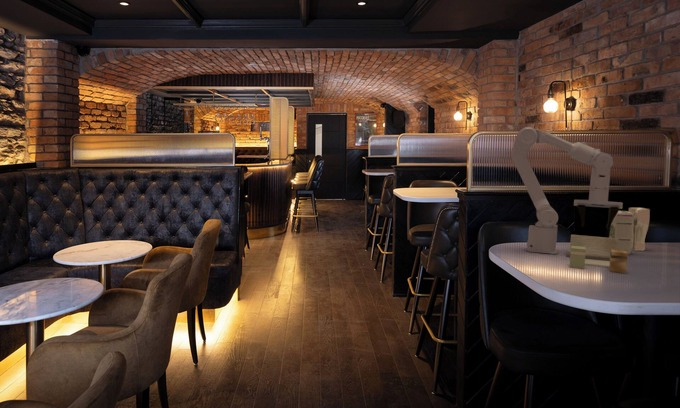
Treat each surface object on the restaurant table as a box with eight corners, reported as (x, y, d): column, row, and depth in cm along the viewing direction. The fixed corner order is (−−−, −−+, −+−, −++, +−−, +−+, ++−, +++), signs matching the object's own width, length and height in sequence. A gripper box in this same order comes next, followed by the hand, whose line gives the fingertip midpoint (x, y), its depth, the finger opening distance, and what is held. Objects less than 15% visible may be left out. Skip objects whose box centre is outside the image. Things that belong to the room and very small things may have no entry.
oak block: (610, 271, 150) (611, 251, 149) (609, 268, 153) (610, 249, 153) (625, 273, 148) (627, 253, 147) (624, 270, 152) (626, 250, 151)
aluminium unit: (566, 256, 169) (567, 236, 168) (566, 253, 173) (567, 233, 172) (620, 262, 162) (622, 240, 161) (619, 259, 167) (621, 238, 166)
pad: (576, 264, 158) (576, 262, 158) (576, 259, 165) (576, 258, 165) (612, 267, 154) (612, 266, 154) (610, 263, 161) (610, 261, 161)
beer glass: (634, 246, 188) (638, 207, 186) (651, 250, 181) (655, 209, 179) (619, 247, 186) (623, 207, 184) (636, 251, 179) (640, 210, 177)
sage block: (569, 267, 154) (571, 248, 153) (569, 264, 158) (571, 245, 157) (584, 268, 152) (586, 249, 152) (584, 266, 156) (585, 247, 155)
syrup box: (631, 254, 174) (634, 213, 172) (612, 253, 175) (616, 212, 174) (625, 251, 180) (629, 210, 178) (607, 250, 181) (610, 210, 179)
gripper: (576, 187, 168) (572, 227, 170) (625, 190, 163) (621, 232, 164) (575, 186, 175) (571, 224, 176) (622, 188, 169) (618, 228, 171)
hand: (595, 228), depth 171 cm, fingers open, 7 cm apart
